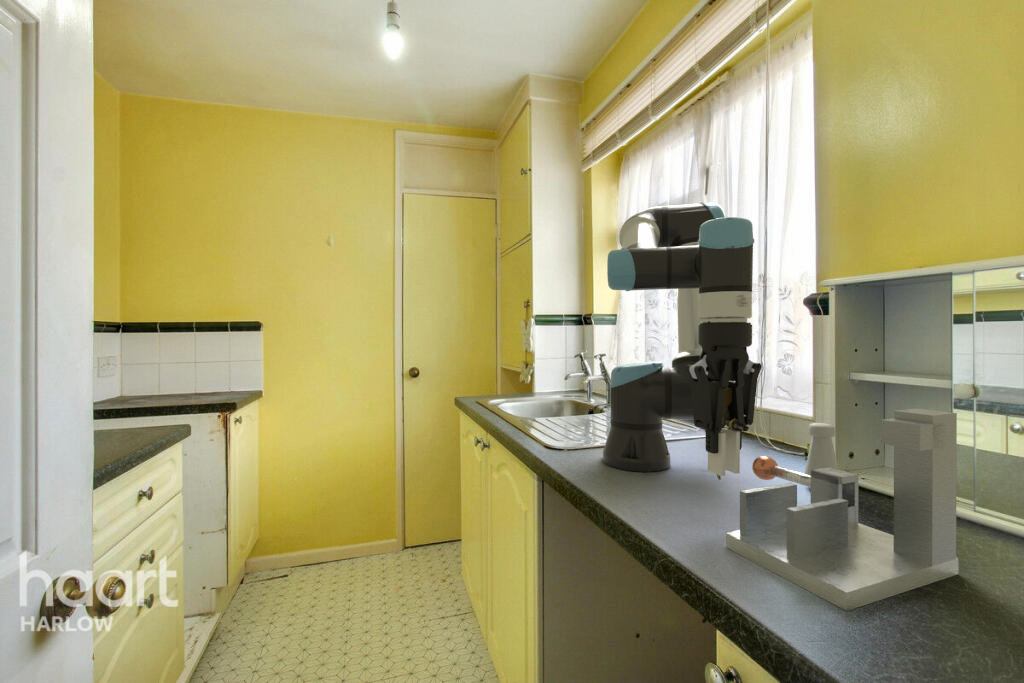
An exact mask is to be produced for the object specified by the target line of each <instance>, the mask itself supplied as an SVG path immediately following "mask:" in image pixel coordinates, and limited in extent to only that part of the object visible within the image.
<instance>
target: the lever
mask: <svg viewBox="0 0 1024 683" xmlns="http://www.w3.org/2000/svg"><path fill="white" fill-rule="evenodd" d="M751 466H752V467H751V468H752V472H753V474H754V475H755V476H756V477H757V478H759V479H761V480H764V481H771V480H773V479H775V478H778V479H782V480H785V481H788V482H790V483H793V484H797V485H801V486H805V487H807V488H809V487H811V475H807V474H805V472H804V473H803V472H800V471H797V470H793V469H790V468H785V467H783V466H779V465H778V462H776V460H775V459H773V458H772V457H771V456H767V455H761V456H758V457H756V458H755V459H754V460H753V462H752V465H751ZM844 494H845V486H844V485H843V484H842V496H843V495H844Z"/></svg>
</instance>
